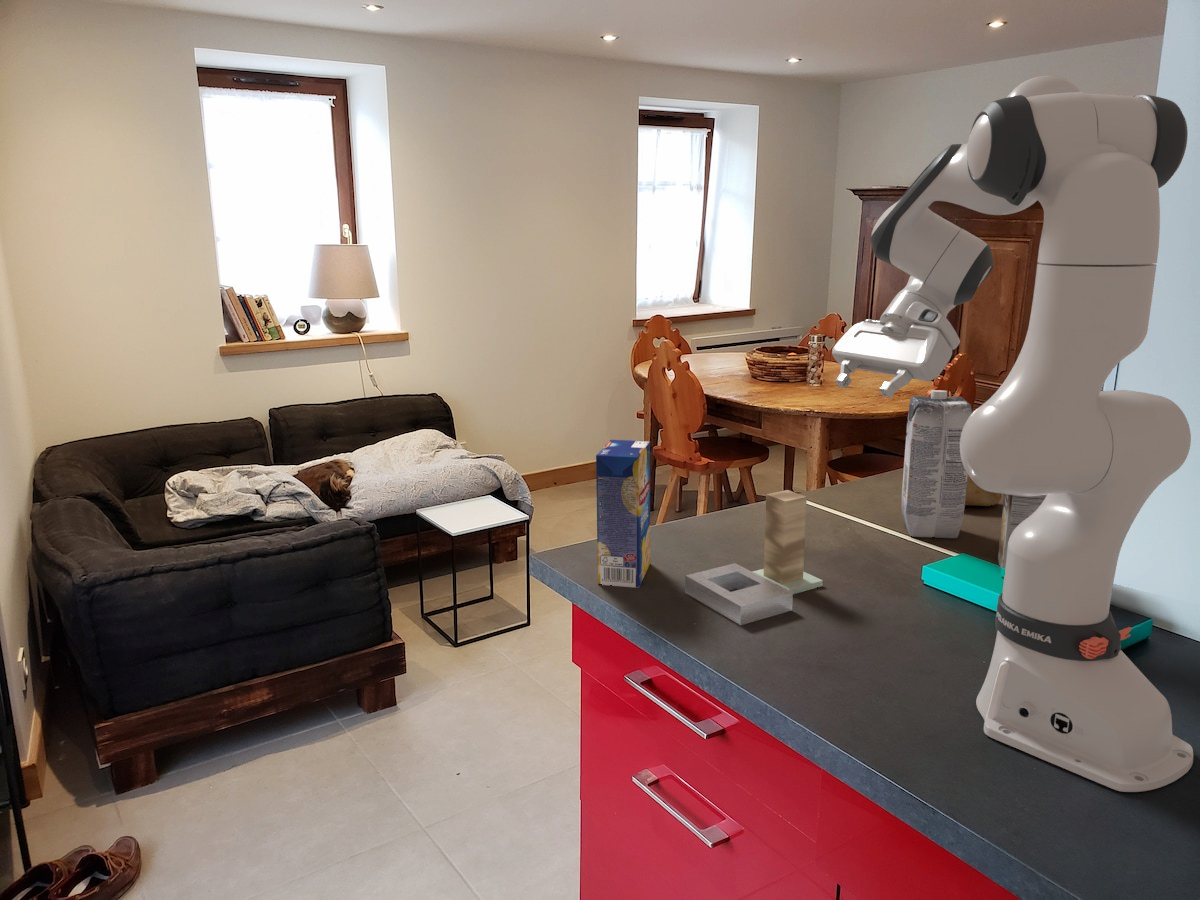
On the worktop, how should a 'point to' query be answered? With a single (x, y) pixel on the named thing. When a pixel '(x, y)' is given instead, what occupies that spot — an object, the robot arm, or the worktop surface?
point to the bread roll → (980, 495)
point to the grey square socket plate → (738, 593)
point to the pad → (797, 582)
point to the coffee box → (1015, 518)
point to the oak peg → (784, 536)
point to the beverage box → (623, 512)
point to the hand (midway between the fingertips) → (861, 389)
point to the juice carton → (934, 466)
